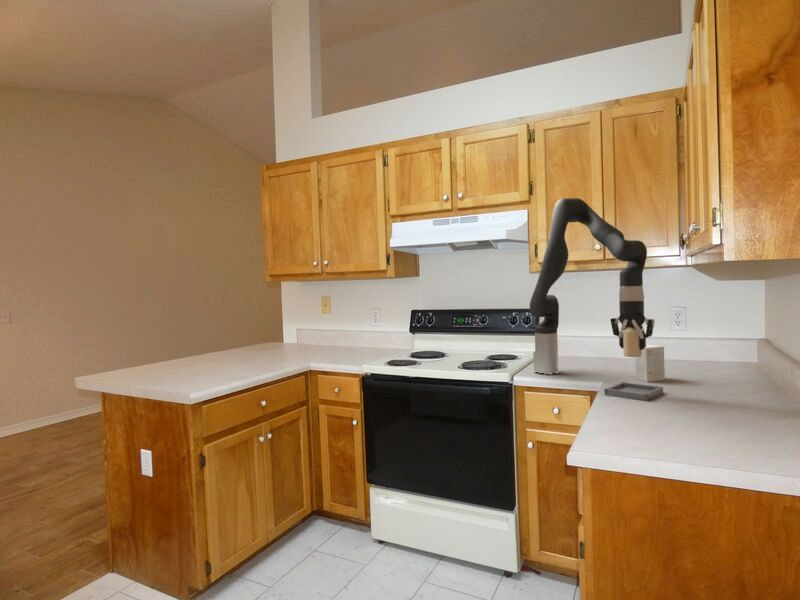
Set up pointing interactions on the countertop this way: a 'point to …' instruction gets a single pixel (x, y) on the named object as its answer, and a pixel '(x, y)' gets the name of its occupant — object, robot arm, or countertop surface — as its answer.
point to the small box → (650, 364)
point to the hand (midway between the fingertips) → (632, 348)
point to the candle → (631, 343)
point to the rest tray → (634, 391)
